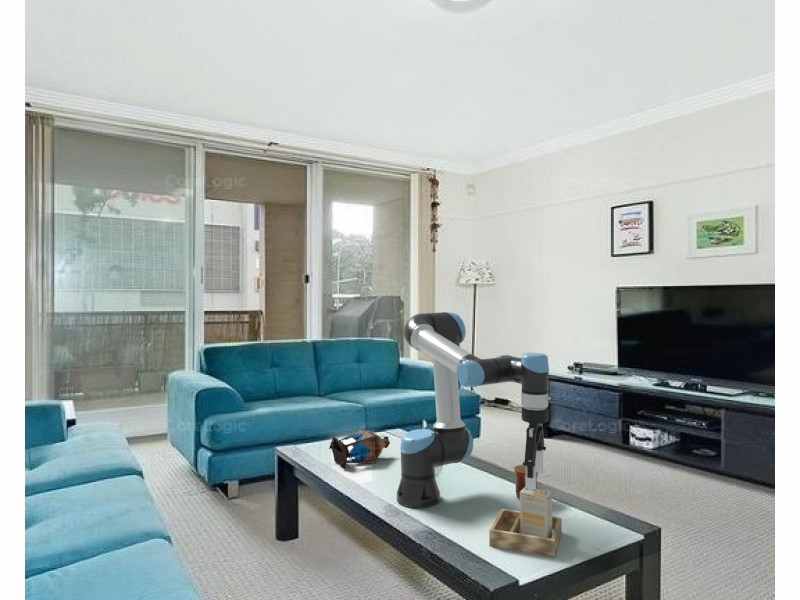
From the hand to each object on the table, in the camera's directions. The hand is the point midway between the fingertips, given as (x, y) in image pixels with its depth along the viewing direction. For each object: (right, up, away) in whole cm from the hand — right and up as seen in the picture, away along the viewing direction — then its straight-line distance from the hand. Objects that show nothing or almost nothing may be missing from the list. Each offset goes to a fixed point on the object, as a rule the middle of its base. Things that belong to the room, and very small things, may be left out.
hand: (534, 480), depth 156 cm
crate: (-2, -18, +1) cm, 18 cm away
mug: (+5, -17, +30) cm, 35 cm away
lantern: (-55, -17, +74) cm, 94 cm away
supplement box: (+1, -17, 0) cm, 17 cm away
